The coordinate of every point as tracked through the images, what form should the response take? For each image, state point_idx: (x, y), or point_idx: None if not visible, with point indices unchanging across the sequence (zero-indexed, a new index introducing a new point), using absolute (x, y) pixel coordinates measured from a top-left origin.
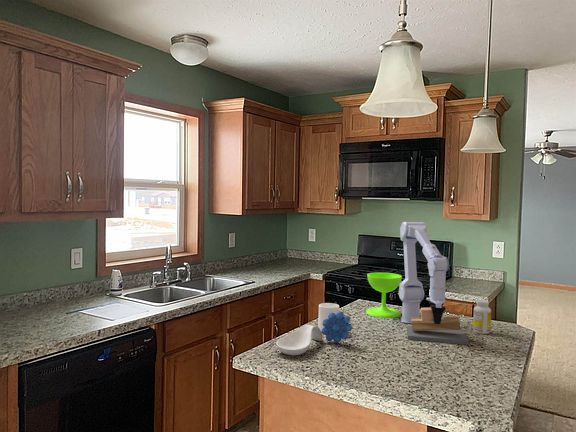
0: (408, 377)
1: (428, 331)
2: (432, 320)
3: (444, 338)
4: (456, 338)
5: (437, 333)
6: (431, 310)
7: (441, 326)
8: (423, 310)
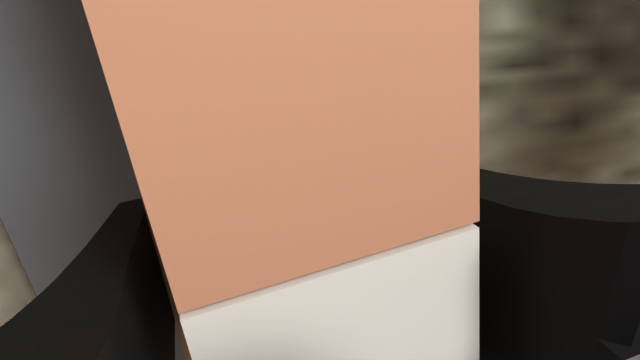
0: None
1: None
2: (139, 188)
3: (31, 261)
4: None
5: None
6: (171, 285)
7: None
8: (85, 11)
